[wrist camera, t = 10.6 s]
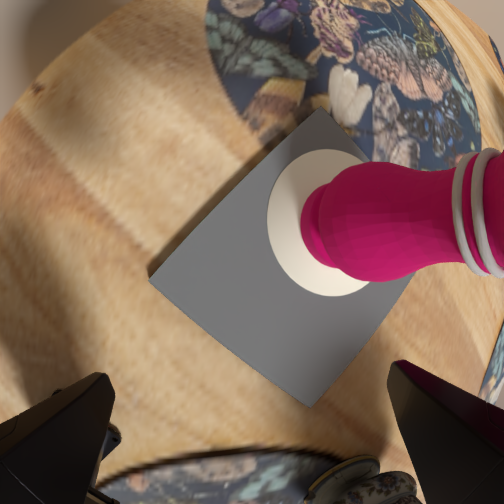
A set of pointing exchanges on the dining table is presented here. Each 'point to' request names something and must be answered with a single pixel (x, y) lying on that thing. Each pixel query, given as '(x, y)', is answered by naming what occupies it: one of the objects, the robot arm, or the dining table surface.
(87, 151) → the dining table surface
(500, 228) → the pepper mill
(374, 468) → the apothecary jar
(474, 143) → the dining table surface
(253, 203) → the mat
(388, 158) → the dining table surface
